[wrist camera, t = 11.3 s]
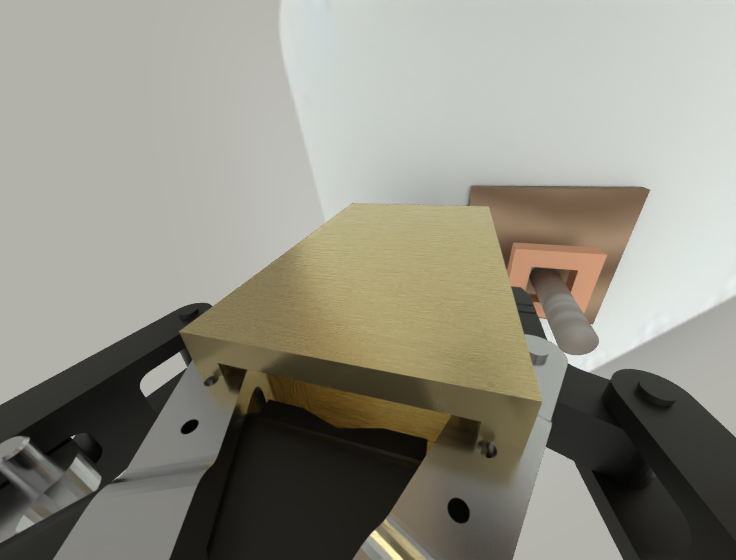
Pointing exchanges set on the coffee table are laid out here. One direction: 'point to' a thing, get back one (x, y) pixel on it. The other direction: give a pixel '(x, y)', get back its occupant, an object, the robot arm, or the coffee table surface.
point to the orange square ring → (574, 258)
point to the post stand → (564, 243)
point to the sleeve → (384, 326)
